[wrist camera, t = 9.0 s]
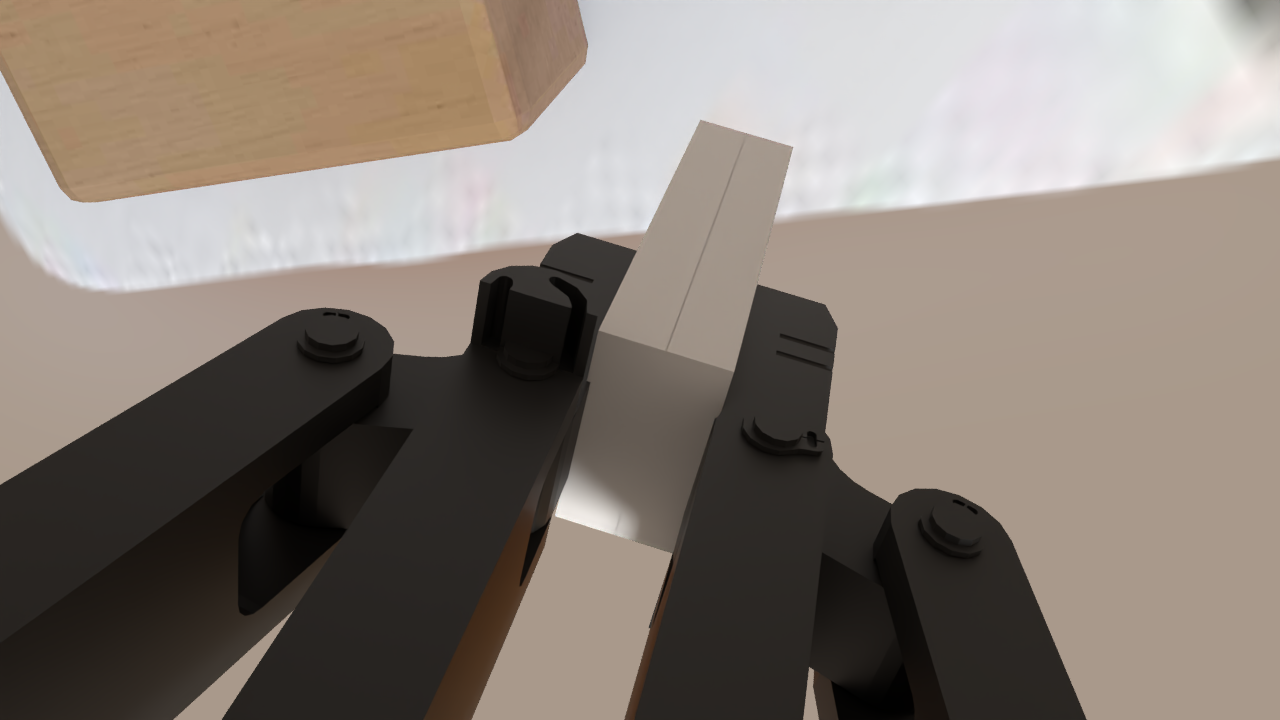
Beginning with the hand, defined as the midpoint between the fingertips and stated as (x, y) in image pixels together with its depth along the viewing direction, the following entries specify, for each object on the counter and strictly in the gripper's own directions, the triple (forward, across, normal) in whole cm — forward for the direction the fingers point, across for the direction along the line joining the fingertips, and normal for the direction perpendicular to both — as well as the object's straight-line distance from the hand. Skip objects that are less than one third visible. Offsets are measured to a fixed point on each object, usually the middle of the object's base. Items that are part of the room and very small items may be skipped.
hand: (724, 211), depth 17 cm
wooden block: (+23, -9, -4) cm, 25 cm away
